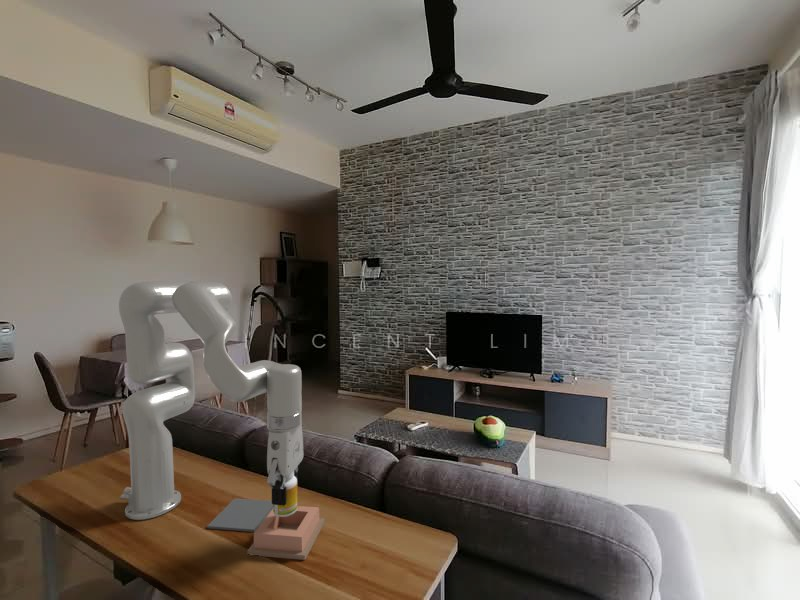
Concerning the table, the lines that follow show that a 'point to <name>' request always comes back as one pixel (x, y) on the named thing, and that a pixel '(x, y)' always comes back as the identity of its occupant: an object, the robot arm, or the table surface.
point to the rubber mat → (242, 515)
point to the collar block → (287, 534)
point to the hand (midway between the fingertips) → (285, 495)
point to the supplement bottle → (288, 497)
